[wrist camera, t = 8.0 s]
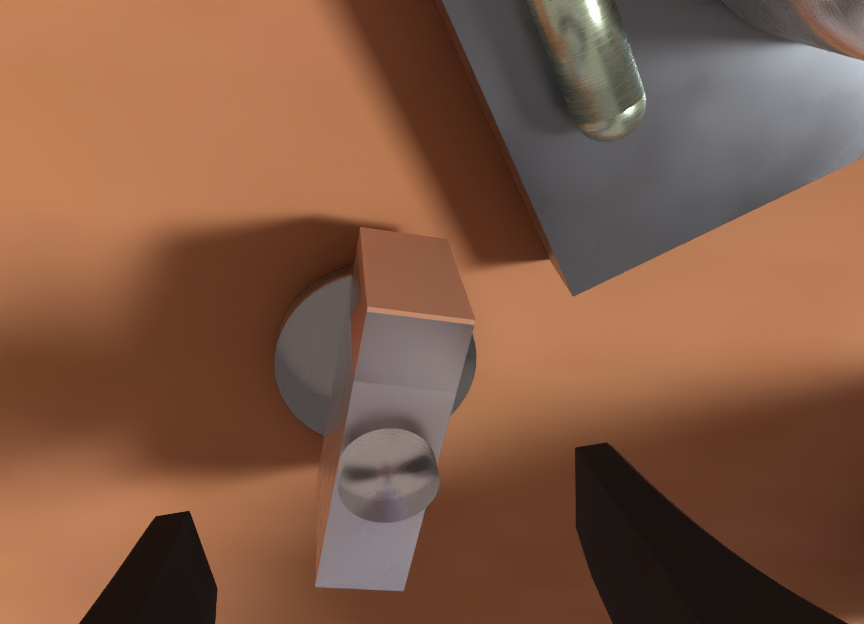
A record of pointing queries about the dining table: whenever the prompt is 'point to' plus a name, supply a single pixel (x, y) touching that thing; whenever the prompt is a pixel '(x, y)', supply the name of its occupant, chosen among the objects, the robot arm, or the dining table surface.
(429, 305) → the wing knob
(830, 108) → the levelling base
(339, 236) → the dining table surface
